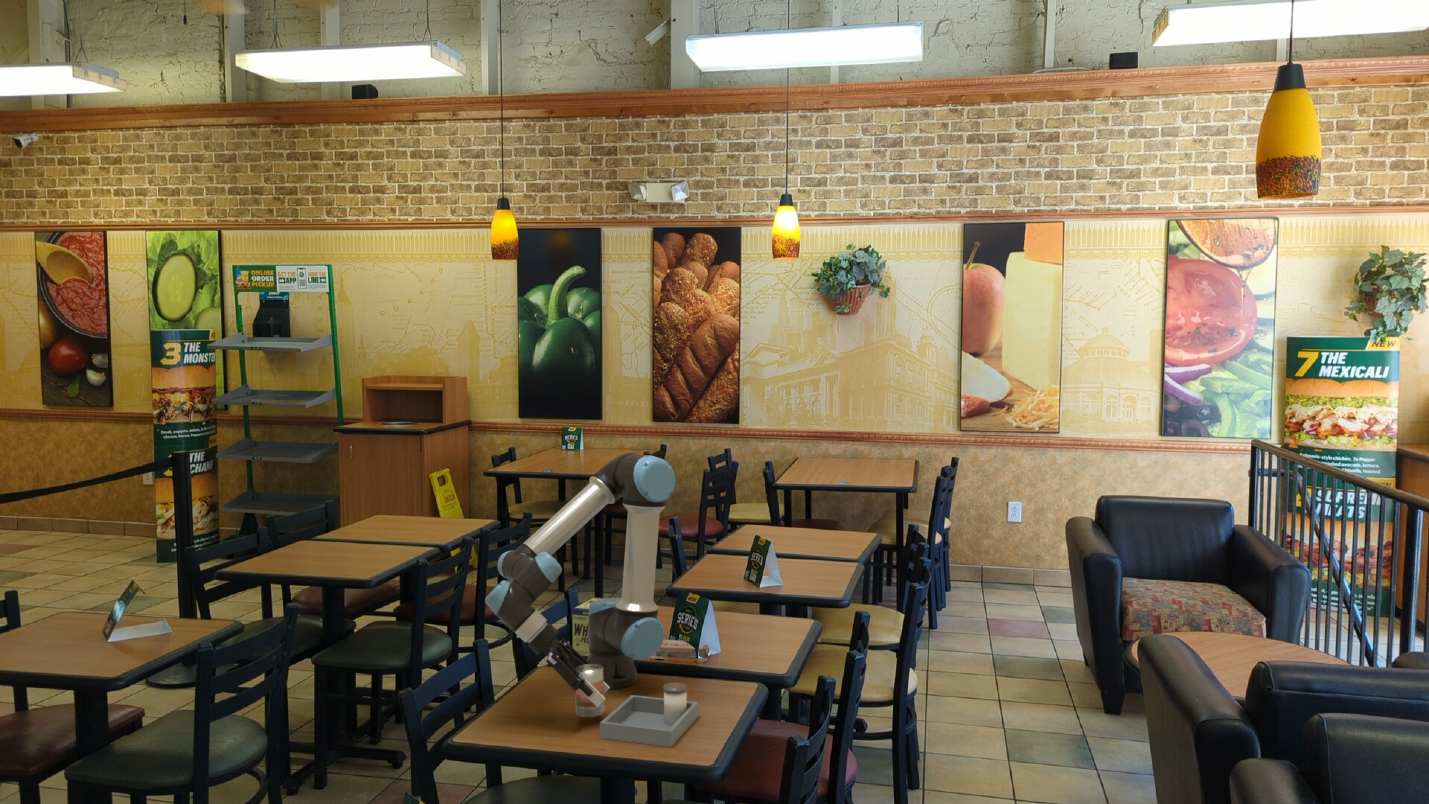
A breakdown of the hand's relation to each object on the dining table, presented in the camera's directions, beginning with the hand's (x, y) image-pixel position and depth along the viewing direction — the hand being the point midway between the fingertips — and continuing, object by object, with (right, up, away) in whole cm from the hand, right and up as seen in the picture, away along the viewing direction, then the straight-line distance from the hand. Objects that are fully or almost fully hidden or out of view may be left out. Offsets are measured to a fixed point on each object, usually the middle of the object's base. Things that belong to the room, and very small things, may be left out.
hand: (603, 697), depth 246 cm
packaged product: (+17, -5, +55) cm, 58 cm away
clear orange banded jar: (-3, -4, 0) cm, 5 cm away
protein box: (-8, -4, +57) cm, 58 cm away
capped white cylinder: (+18, -6, 0) cm, 19 cm away
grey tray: (+12, -7, -4) cm, 14 cm away
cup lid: (+18, +2, -1) cm, 18 cm away
